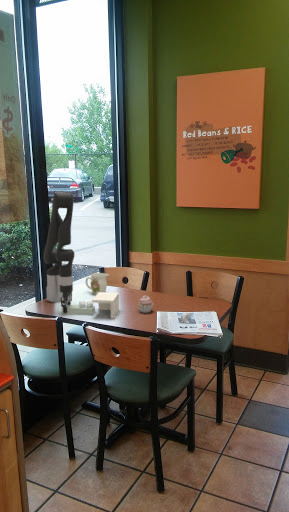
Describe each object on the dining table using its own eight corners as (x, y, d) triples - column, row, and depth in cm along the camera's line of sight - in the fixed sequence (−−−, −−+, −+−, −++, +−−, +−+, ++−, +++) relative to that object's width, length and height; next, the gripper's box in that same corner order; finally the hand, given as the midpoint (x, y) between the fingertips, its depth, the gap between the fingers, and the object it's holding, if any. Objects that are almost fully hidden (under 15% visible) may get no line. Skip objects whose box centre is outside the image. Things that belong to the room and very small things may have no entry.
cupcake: (142, 315, 236) (142, 298, 235) (134, 310, 244) (134, 294, 243) (156, 312, 241) (156, 296, 239) (148, 308, 249) (148, 292, 247)
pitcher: (90, 290, 289) (89, 270, 286) (113, 292, 282) (112, 273, 279) (81, 294, 279) (81, 274, 276) (105, 297, 272) (105, 276, 269)
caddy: (62, 313, 239) (61, 302, 238) (65, 310, 245) (65, 299, 244) (92, 315, 237) (91, 304, 235) (94, 311, 242) (94, 301, 241)
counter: (92, 317, 232) (92, 299, 230) (99, 309, 247) (98, 292, 245) (113, 318, 230) (113, 300, 228) (118, 309, 246) (118, 292, 244)
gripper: (63, 280, 246) (64, 307, 249) (55, 286, 232) (56, 314, 235) (76, 280, 245) (76, 307, 248) (68, 286, 231) (69, 315, 234)
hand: (66, 311), depth 242 cm, fingers closed on caddy, 6 cm apart
